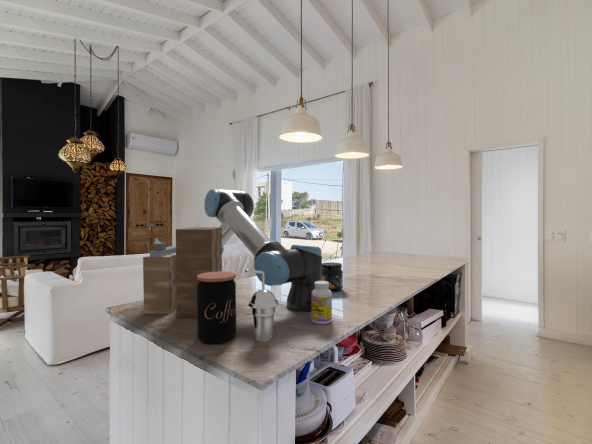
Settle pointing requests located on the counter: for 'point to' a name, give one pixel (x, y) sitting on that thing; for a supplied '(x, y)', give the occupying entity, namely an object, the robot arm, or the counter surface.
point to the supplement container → (333, 275)
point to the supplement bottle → (321, 303)
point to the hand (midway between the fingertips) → (172, 241)
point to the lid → (162, 250)
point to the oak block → (159, 284)
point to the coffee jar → (216, 307)
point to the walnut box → (195, 264)
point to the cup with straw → (263, 311)
